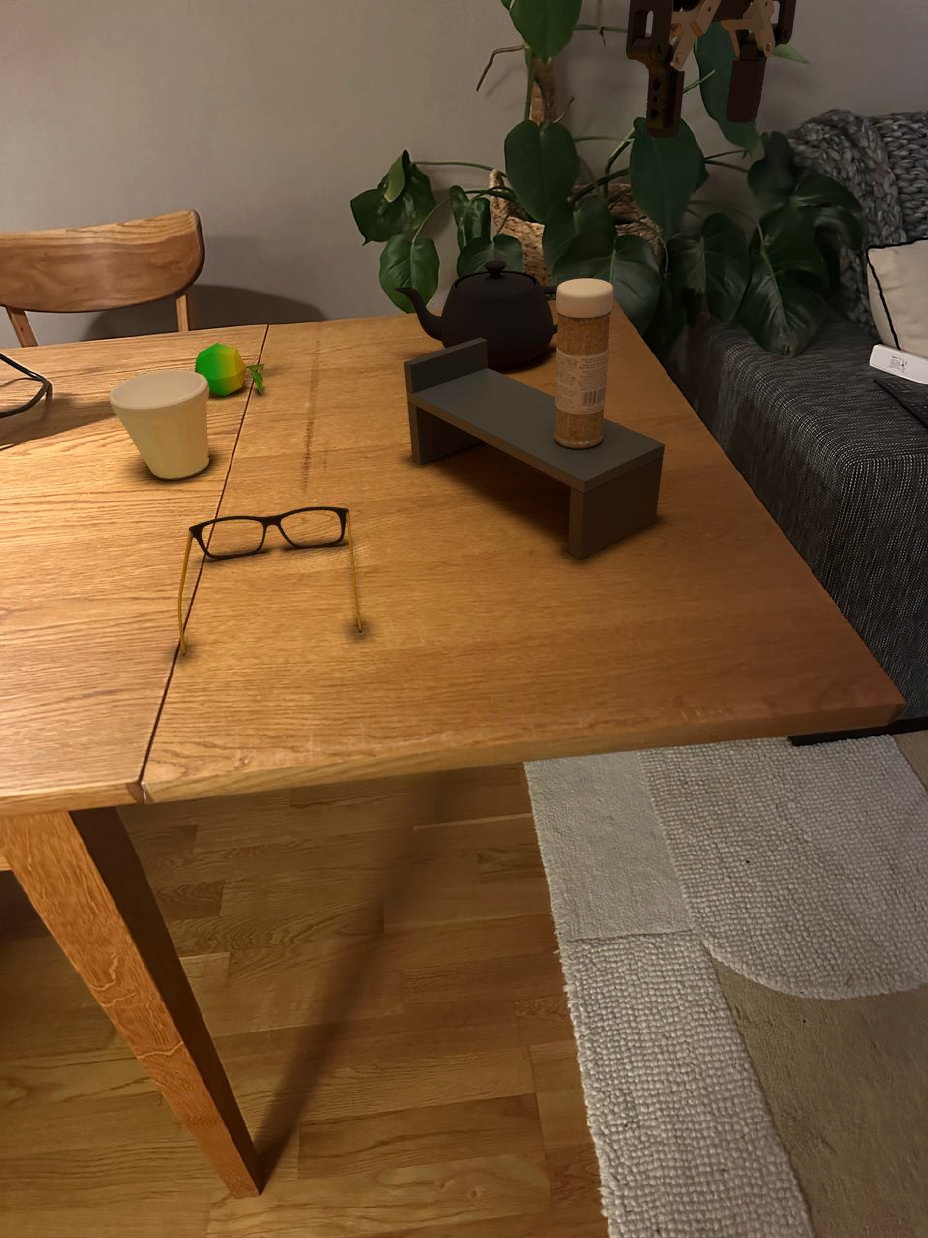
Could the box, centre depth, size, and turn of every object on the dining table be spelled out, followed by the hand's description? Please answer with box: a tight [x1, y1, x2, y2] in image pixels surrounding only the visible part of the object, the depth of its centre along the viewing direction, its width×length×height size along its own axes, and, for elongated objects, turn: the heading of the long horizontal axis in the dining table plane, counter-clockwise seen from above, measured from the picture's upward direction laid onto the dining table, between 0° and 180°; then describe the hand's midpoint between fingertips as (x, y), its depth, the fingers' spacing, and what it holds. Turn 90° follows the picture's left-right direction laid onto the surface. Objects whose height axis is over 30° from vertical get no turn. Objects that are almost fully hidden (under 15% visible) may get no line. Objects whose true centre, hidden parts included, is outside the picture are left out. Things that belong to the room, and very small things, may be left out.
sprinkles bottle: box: [554, 278, 614, 448], centre depth 69 cm, size 5×5×13 cm
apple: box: [194, 342, 265, 397], centre depth 104 cm, size 7×6×9 cm
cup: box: [107, 369, 210, 481], centre depth 86 cm, size 10×10×9 cm
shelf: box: [403, 338, 666, 561], centre depth 79 cm, size 26×10×11 cm, turn 38°
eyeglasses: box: [177, 506, 362, 654], centre depth 69 cm, size 14×14×4 cm
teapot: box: [393, 259, 559, 370], centre depth 108 cm, size 25×16×12 cm, turn 93°
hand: (703, 128), depth 57 cm, fingers open, 8 cm apart
